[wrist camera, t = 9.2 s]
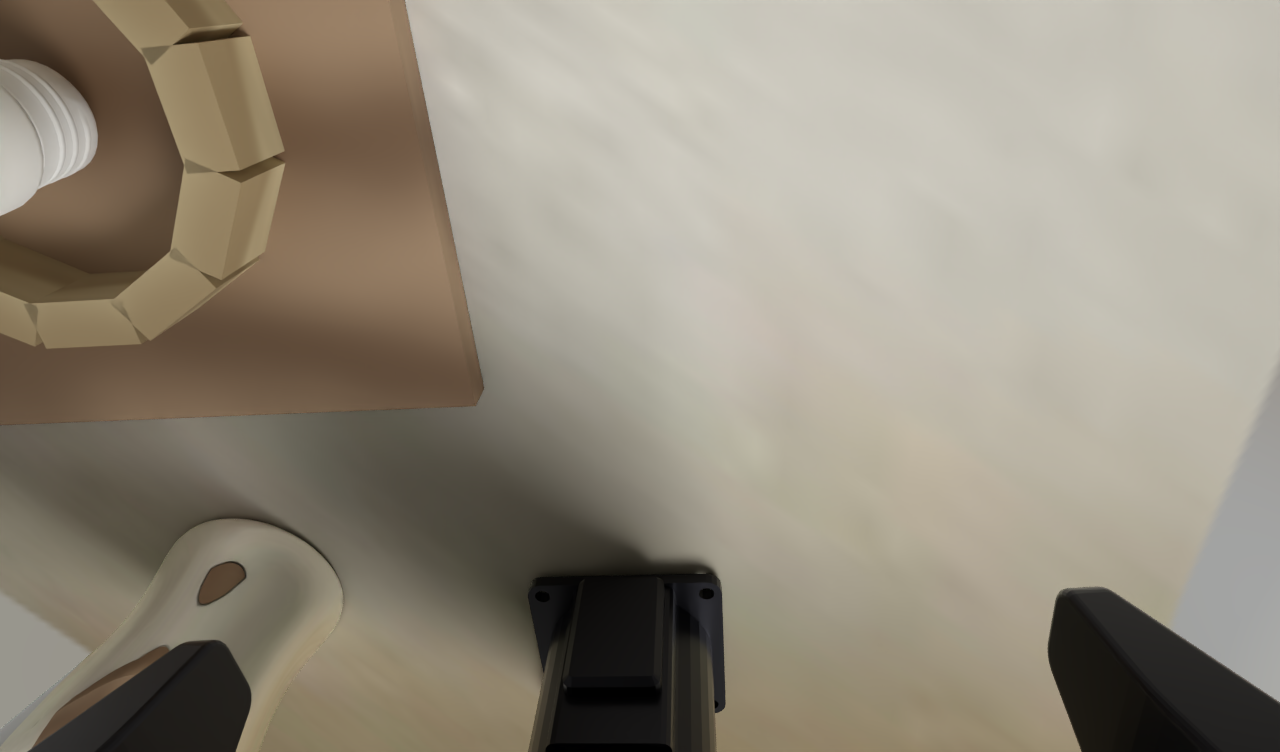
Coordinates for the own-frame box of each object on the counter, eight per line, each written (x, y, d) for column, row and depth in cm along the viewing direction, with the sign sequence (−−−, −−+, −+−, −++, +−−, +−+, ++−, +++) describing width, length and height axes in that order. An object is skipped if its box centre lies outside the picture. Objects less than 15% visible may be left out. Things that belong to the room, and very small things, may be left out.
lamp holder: (484, 388, 21) (455, 446, 19) (-47, 410, 23) (-141, 467, 20) (319, -416, 13) (230, -512, 11) (-485, -305, 15) (-737, -367, 12)
